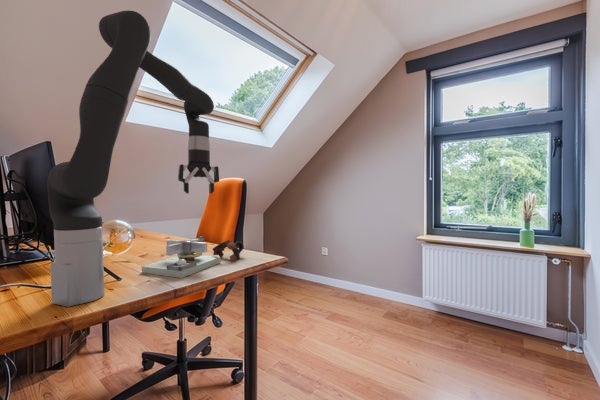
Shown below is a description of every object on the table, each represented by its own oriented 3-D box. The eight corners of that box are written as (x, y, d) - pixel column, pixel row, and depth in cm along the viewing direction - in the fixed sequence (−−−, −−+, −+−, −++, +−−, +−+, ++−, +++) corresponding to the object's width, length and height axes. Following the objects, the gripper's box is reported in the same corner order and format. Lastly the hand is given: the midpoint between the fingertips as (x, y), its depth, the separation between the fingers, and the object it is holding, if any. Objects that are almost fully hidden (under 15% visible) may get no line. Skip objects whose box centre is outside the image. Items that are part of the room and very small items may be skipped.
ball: (182, 268, 87) (182, 260, 87) (175, 268, 88) (175, 259, 88) (188, 266, 90) (188, 258, 90) (181, 265, 91) (181, 257, 91)
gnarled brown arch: (227, 265, 101) (216, 244, 102) (216, 271, 107) (206, 252, 108) (252, 251, 110) (242, 232, 111) (240, 257, 116) (231, 240, 117)
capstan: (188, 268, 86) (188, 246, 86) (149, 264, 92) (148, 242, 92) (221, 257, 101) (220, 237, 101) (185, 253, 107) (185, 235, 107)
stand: (181, 277, 85) (181, 266, 85) (141, 272, 90) (141, 262, 90) (220, 262, 103) (220, 253, 102) (185, 258, 108) (185, 249, 108)
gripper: (180, 146, 98) (180, 193, 99) (221, 150, 106) (221, 193, 106) (176, 149, 105) (176, 193, 105) (215, 152, 112) (215, 193, 113)
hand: (199, 193), depth 106 cm, fingers open, 8 cm apart
